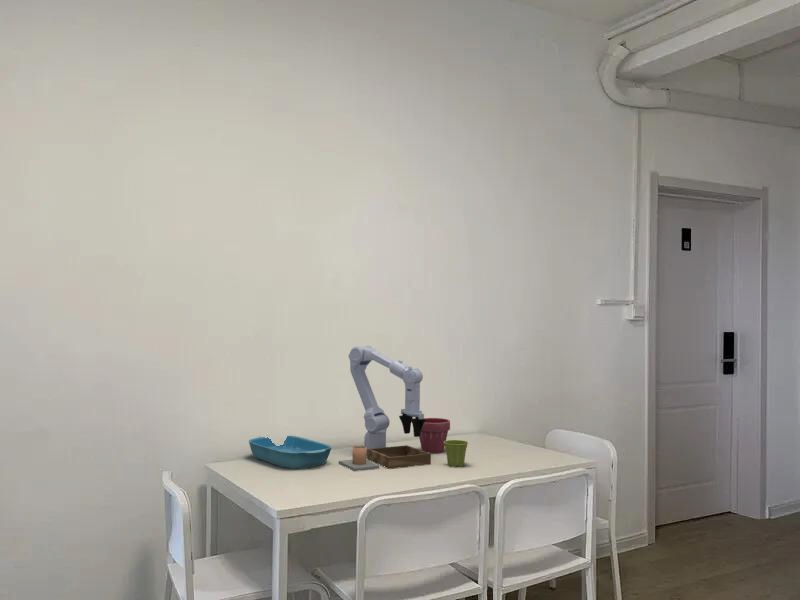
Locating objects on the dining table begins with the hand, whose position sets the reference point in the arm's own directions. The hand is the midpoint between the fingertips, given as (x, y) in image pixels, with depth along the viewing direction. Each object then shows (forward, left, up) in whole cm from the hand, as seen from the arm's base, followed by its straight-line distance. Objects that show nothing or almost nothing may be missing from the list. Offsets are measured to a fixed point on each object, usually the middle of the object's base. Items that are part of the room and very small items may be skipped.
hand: (411, 435), depth 284 cm
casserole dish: (-18, -44, -10) cm, 48 cm away
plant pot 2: (+16, +10, -10) cm, 21 cm away
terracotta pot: (+2, -24, -8) cm, 25 cm away
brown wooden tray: (+2, -7, -9) cm, 12 cm away
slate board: (+2, -24, -9) cm, 26 cm away
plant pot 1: (-10, +16, -10) cm, 21 cm away
